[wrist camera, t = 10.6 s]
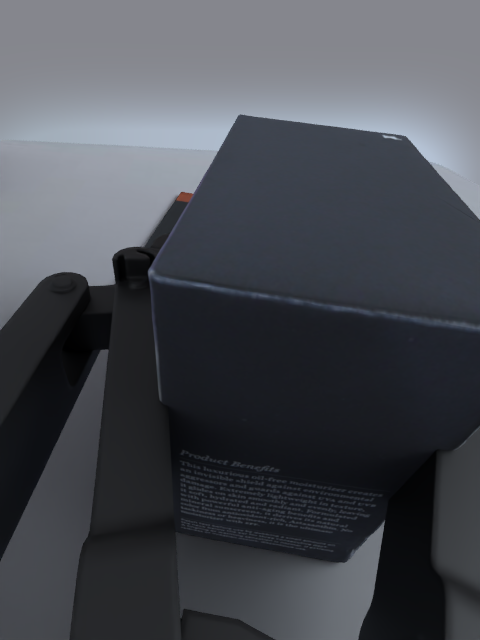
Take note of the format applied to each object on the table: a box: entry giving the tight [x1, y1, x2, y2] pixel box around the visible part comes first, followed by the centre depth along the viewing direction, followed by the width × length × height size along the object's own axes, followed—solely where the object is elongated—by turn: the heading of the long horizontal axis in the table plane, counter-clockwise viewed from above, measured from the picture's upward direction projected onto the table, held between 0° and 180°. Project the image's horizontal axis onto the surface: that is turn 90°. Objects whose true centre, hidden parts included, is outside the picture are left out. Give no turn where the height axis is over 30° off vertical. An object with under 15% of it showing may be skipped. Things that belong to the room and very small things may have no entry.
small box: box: [148, 115, 480, 563], centre depth 12 cm, size 11×6×10 cm, turn 173°
